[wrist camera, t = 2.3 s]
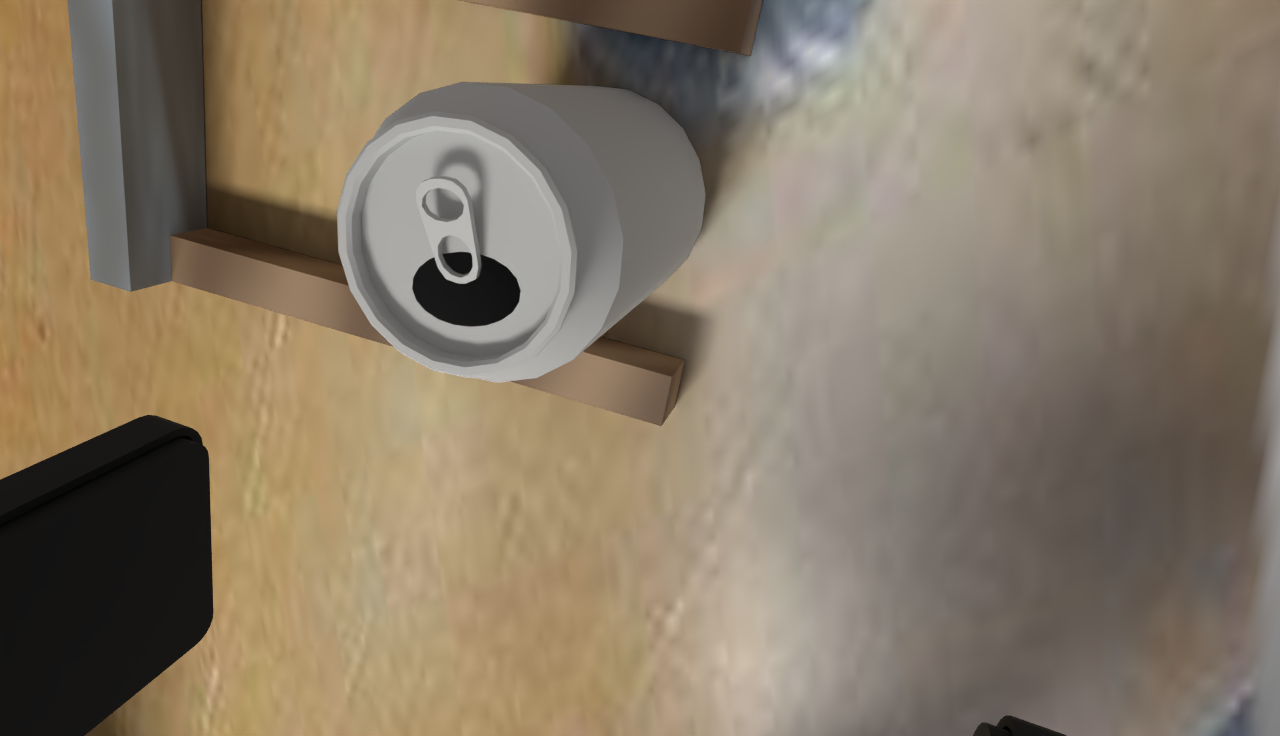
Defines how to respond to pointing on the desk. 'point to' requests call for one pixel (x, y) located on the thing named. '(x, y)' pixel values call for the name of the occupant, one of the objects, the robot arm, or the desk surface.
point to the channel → (270, 276)
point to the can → (515, 222)
